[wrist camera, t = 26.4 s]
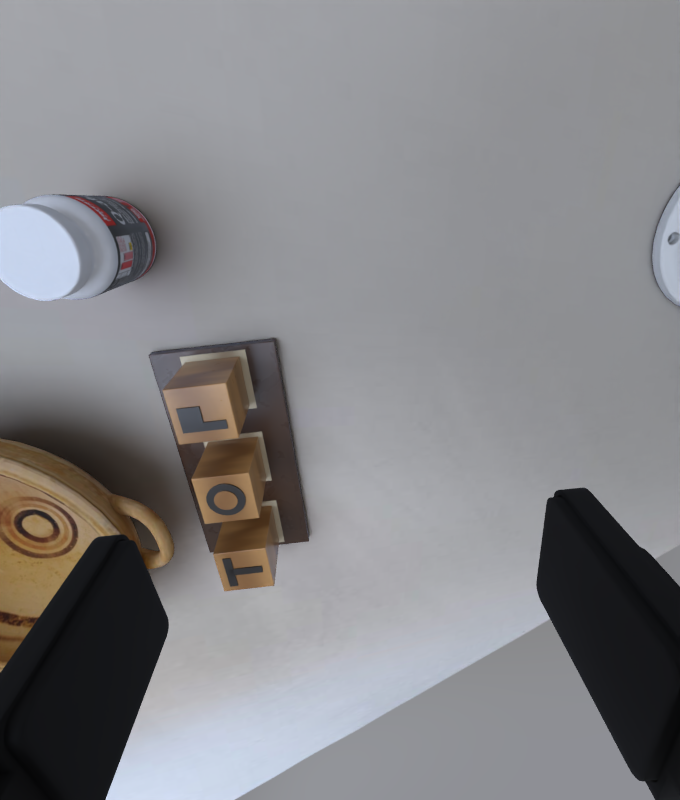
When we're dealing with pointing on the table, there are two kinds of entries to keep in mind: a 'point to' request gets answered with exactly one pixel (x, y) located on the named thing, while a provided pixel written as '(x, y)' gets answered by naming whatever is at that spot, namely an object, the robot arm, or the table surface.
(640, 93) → the table surface
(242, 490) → the tile
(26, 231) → the pill bottle
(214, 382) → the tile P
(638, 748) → the robot arm
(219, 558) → the tile
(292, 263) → the table surface
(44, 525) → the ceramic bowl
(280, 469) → the word board
